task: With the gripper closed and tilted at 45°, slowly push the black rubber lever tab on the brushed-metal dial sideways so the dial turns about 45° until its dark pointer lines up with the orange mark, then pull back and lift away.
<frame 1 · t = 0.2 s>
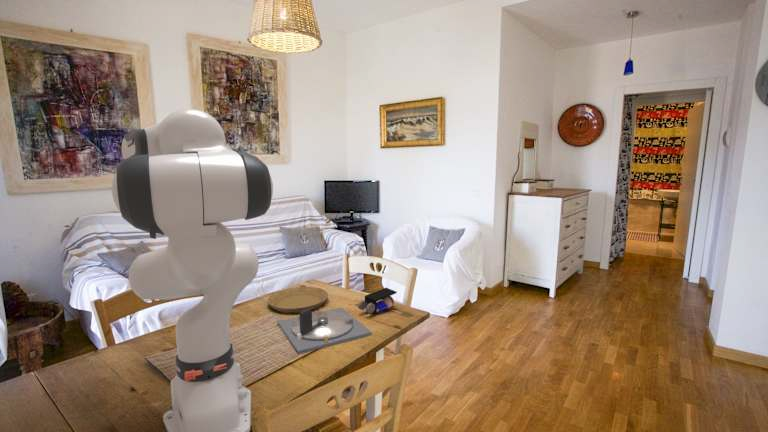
hand: (191, 230, 103), 39 cm above the table, tool pointing down, fingers open, 8 cm apart
dial: (322, 314, 128), point 5 cm above the table, hinge at 0.0°
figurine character: (378, 312, 144), on the table
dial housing: (322, 329, 129), on the table
plant saucer: (298, 304, 153), on the table
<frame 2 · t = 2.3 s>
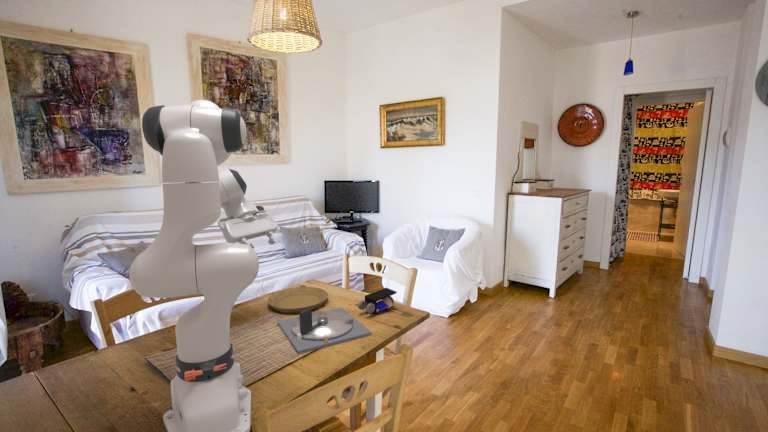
hand: (262, 246, 128), 29 cm above the table, tool tilted 45°, fingers open, 8 cm apart
nothing on the table moved.
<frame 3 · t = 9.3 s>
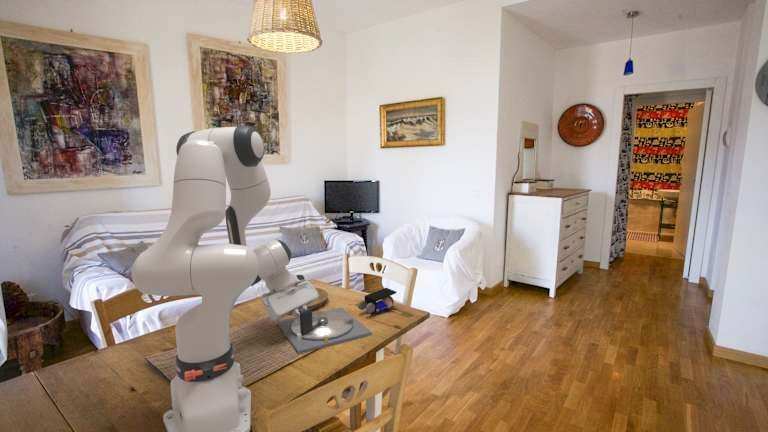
hand: (306, 319, 123), 6 cm above the table, tool tilted 45°, fingers closed, pressing on dial
dial: (322, 314, 128), point 5 cm above the table, hinge at 1.0°, touching gripper
everything else where it was.
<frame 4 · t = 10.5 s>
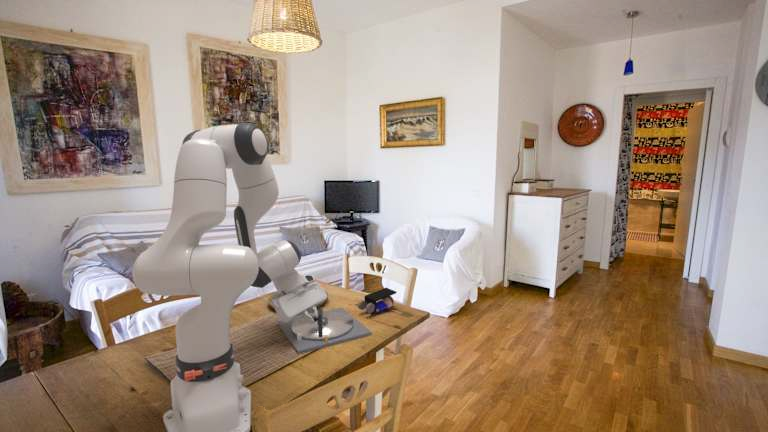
hand: (315, 321, 122), 6 cm above the table, tool tilted 45°, fingers closed
dial: (322, 314, 128), point 5 cm above the table, hinge at 35.8°, touching gripper
everything else where it was.
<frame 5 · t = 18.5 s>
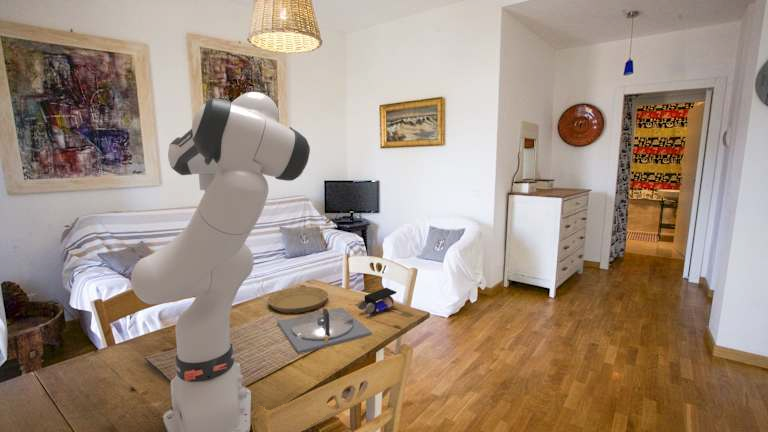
hand: (218, 228, 116), 37 cm above the table, tool pointing down, fingers closed
dial: (322, 314, 128), point 5 cm above the table, hinge at 48.3°
everything else where it was.
at the end: dial at +48° (first picture: +0°); plant saucer moved 0.5 cm from its start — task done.
